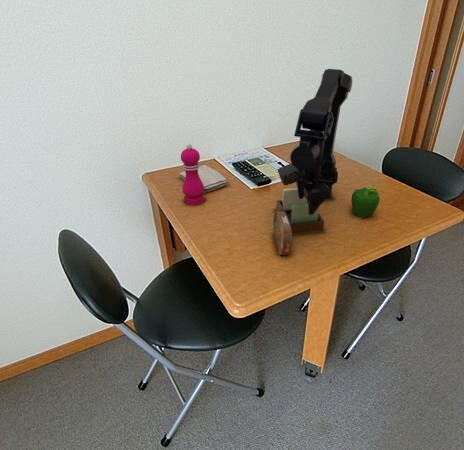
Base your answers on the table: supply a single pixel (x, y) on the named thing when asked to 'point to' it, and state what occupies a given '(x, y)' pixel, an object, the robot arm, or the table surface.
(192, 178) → the pepper mill
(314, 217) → the sage coaster
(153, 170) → the table surface
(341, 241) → the table surface
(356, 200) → the bell pepper
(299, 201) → the cream coaster
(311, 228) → the coaster holder
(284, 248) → the tin
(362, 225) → the table surface
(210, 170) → the washcloth
